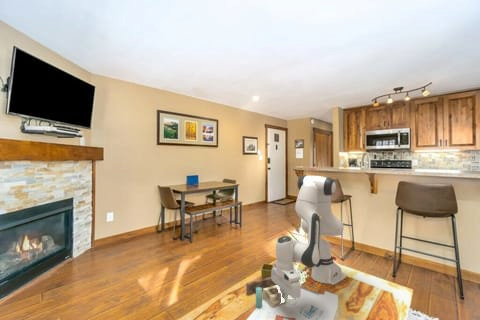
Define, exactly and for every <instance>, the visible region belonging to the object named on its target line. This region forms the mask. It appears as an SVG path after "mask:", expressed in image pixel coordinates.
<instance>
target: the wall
mask: <svg viewBox="0 0 480 320" xmlns="http://www.w3.org/2000/svg"><path fill="white" fill-rule="evenodd" d="M275 285H276V284H275V283H274V282H273V281H272V280H271V277H268V278H264V279H262V278H261V279H258V280H252V281H250V282H246V285H245V287H246V288H245V289H246V296H251V295H256V288H257V287H261V288H262V292H263V289H264V288H267V287H271V286H275Z"/></svg>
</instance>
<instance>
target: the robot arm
mask: <svg viewBox="0 0 480 320" xmlns="http://www.w3.org/2000/svg"><path fill="white" fill-rule="evenodd" d="M296 183H297V189H298V190H299V191H298V194H297V197H296V202H295V207H294V208H295V213H296V214H297V216H298V217H299V218H300V219H302V220H301V229H302V231H303V232H304V233H306V234H307V236H308V237H307V243H304V242H301V241H300V240H296V239H292V237H290V236H289V235H288V236H286V235H285V236H280V237H279V238H278V239H277V240H276V243H275V257H276V258H275V259H276V260H275V263H273V264H272V265H273V268H272V271H271V280H272V281H273V282H274V283H275V284H276V285H278V286H279V288H280V291H281V293H282V297H283V298H284V299H285V300H288V299H289V296H290V298H292V299H293V300H296V299H299V298H300V297H301V294H302V292H301V291H302V290H301V289H302V287H301V281H300V280H301V275H300V274H299V272H298V271H297V270H296V268H295V267H294V262H296V263H297V262H298V263H300V264H302V265H303V266H305V267H306V268H310V269H311V268H312V269H311V274H310V277H311V279H312V280H314V281H315V282H318V283H321V284H322V283H323V284H329V285H333V286H334V285H336V284H338V283H340V282H341V281H343V280H344V279H346V278H347V277H346V275H345V274H344V273H343V271H342V268H341V267H340V266H339V265H338V264H337V263H336V262H334V261H336V260H337V257H336V256H334V255H332V246H331V243H330V242H329V241H327V240H326V239H324V238H323V237H322V236H329V237H330V236H331V237H336V236H337V237H338V236H341V235H343V233H344V224H343V223H342V221H341V220H340V219H338V218H337V217H336V216H335V214H334V213H333V211H332V201H331V199H332V198H331V196H332V195H334V194H335V192H336V188H337V185H336V184H337V183H336V181H335V179H333V178H331V177H327V176H326V177H325V176H323V175H322V176H321V175H307V174H303V175H302V174H301V176H299V177H298V180H297V182H296Z"/></svg>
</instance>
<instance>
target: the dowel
mask: <svg viewBox="0 0 480 320" xmlns="http://www.w3.org/2000/svg"><path fill="white" fill-rule="evenodd" d="M262 307H263V291H262V288H261V287H257V288H256V293H255V308H257V309H262Z"/></svg>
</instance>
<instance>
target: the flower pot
mask: <svg viewBox="0 0 480 320" xmlns="http://www.w3.org/2000/svg"><path fill="white" fill-rule="evenodd" d="M272 268H273V264H272V263H271V264H270V263H262V266H261V268H260V271H261V272H260V273H261V279H264V278H268V277H271V271H272Z"/></svg>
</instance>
